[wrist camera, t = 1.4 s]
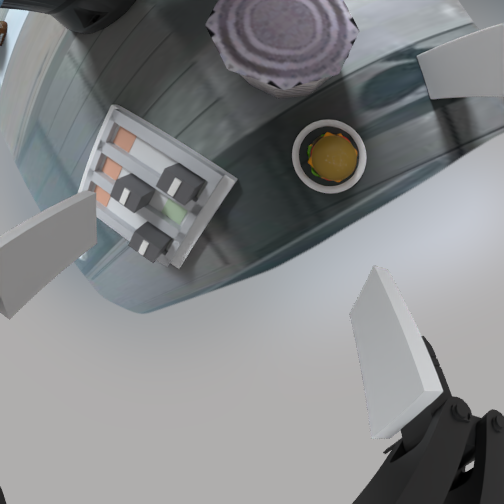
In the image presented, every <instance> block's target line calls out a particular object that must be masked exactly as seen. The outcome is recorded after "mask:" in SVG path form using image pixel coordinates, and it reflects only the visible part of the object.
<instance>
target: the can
mask: <svg viewBox="0 0 504 504" xmlns="http://www.w3.org/2000/svg"><path fill="white" fill-rule="evenodd" d="M205 26H206V28H207V30H208V32H209V34H210V36H211V38H212V40H213V42H214V44H215V45H216V47H217V50H218V52H219V54H220V56H221V58H222V60H223V62H224V64H225V66H226V68H227V70H230V71H233V72H236V73H239V74H240V75H241V76H242V77H243V78H244V79H245V80H246V81H247V82H248V83H249V84H250V85H251V86H253V87H255V88H258V89H260V90H262V91H264V92H266V93H268V94H270V95H272V96H274V97H276V98H278V99H279V98H289V97H299V96H309V95H310V94H311V93H312V92H314V91H315V90H316V89H317V88H318V87H320V86H321V85H322V84H323V83H325V82H326V81H327V80H328V79H330V77H331V76H334V75H338V74H339V73H340V71H341V69H342V66H343V64H344V62H345V60H346V59H347V58H348V55H349V52H350V50H351V48H352V46H353V44H354V42H355V40H356V37H357V35H358V33H359V29H358V27H357V25H356V23H355V21H354V19H353V17H352V16H351V14H350V12H349V10H348V8H347V6H346V4H345V3H344V1H343V0H218V1H217V3H216V5H215V7H214V9H213V11H212V13H211V15H210V17H209V18H208V20H207V22H206V24H205Z"/></svg>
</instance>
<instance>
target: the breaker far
mask: <svg viewBox="0 0 504 504" xmlns="http://www.w3.org/2000/svg"><path fill="white" fill-rule="evenodd" d="M171 239H172V237H170V236H169V235H167V234H166V233H164V232H163V231H161V230H160V229H158V228H157V227H156V226H154V225H153V224H151V223H150V222H148V221H147V222H146V223H144V224H143V225H142V226H140V227H139V228H138V229H137V230H135V231H134V233H133V236H132V238H131V240H130V243H129V245H128V246H130V247H131V248H133V249H134V250H135V251H137V252H138V253H140V254H141V255H142V256H144V257H145V258H147V259H148V260H150V261H151V262H152V263H154V262H155V261H156V259H157V258H158V257H159V256H160V255H161V254H162V253H163V252H164V251H165V250H166V248H167V246H168V244H169V242H170V241H171Z"/></svg>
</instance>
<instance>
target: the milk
mask: <svg viewBox="0 0 504 504" xmlns="http://www.w3.org/2000/svg"><path fill="white" fill-rule="evenodd" d="M416 57H417V60H418V62H419V65H420V68H421V71H422V74H423V77H424V80H425V83H426V86H427V89H428V93H429V96H430V99H442V98H457V97H504V23H502V24H498V25H495V26H492V27H489V28H486V29H483V30H480V31H477V32H474V33H471V34H468V35H466V36H463V37H460V38H458V39H455V40H453V41H450V42H448V43H445V44H443V45H440V46H438V47H436V48H433V49H431V50H429V51H426V52H424V53H422V54H420V55H418V56H416Z"/></svg>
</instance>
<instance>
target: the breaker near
mask: <svg viewBox="0 0 504 504" xmlns="http://www.w3.org/2000/svg"><path fill="white" fill-rule="evenodd" d="M205 181H206V180H205V179H203V178H202V177H200V176H199V175H197V174H196V173H194V172H192V171H191V170H189V169H188V168H186V167H185V166H183V165H182V164H180V163H177V164H174V165H172V166H169V167H167V168H165V169H164V171H163V173H162V175H161V177H160V179H159V181H158V182H157V184H156V187H157V188H159V189H160V190H162V191H163V192H165V193H166V194H168V195H169V196H170V197H172V198H173V199H175V200H176V201H178V202H179V203H181V204H182V205H184V206H185V205H186V204H187V203H188V202H190V201H191V200H192V199H193V198H195V197H196V196H197V194H198V192H199V191H200V189H201V187H202V186H203V184H204V183H205Z"/></svg>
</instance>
